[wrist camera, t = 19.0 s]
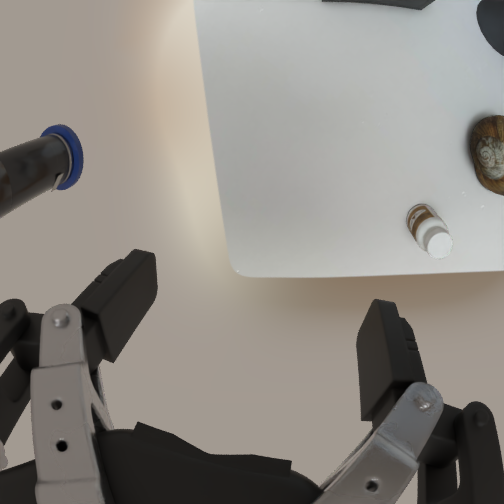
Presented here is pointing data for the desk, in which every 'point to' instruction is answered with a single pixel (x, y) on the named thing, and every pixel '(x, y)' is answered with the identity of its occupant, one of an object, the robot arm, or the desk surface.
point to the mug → (492, 22)
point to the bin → (392, 2)
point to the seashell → (489, 152)
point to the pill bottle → (429, 231)
